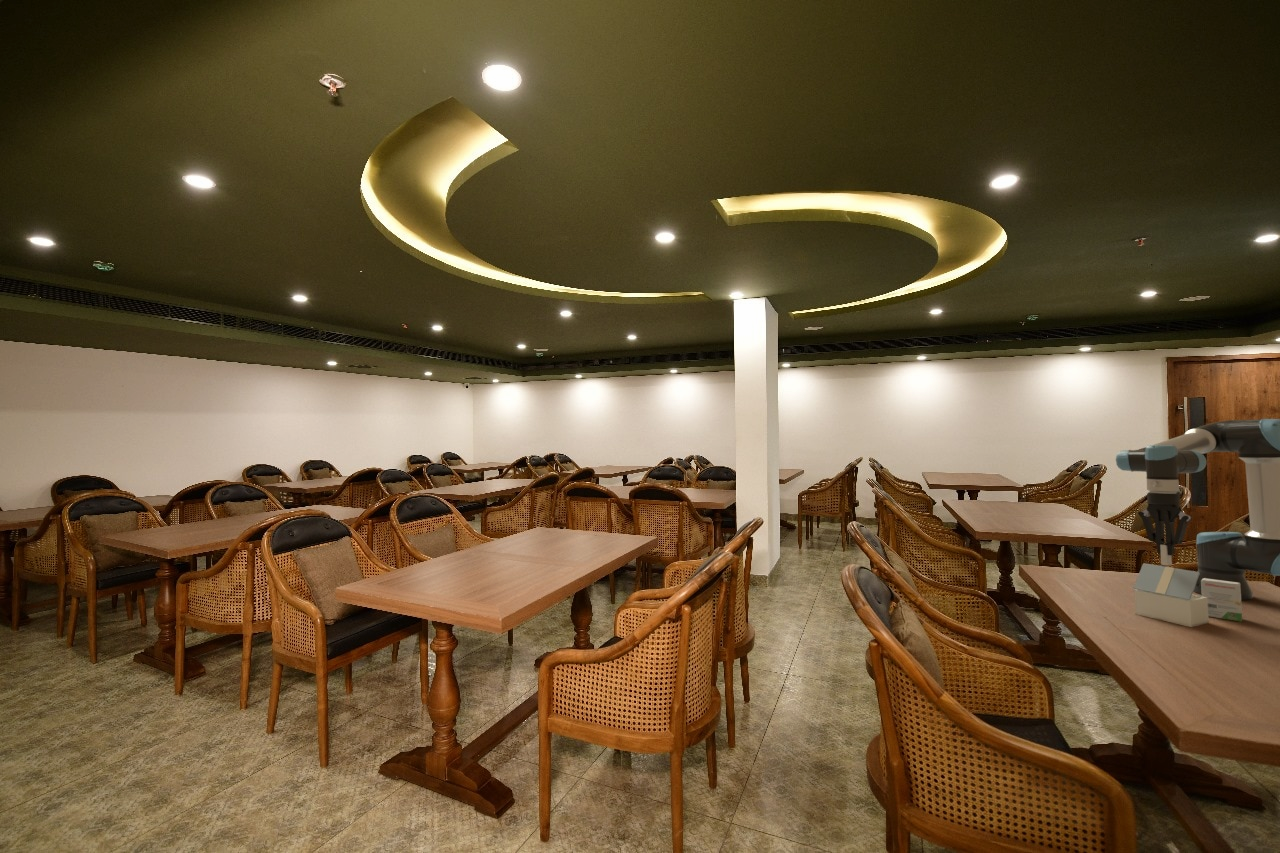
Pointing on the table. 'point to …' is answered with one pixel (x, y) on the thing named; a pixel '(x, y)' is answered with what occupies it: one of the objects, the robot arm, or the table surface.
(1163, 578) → the lid
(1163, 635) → the table surface
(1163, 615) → the carton
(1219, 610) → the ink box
